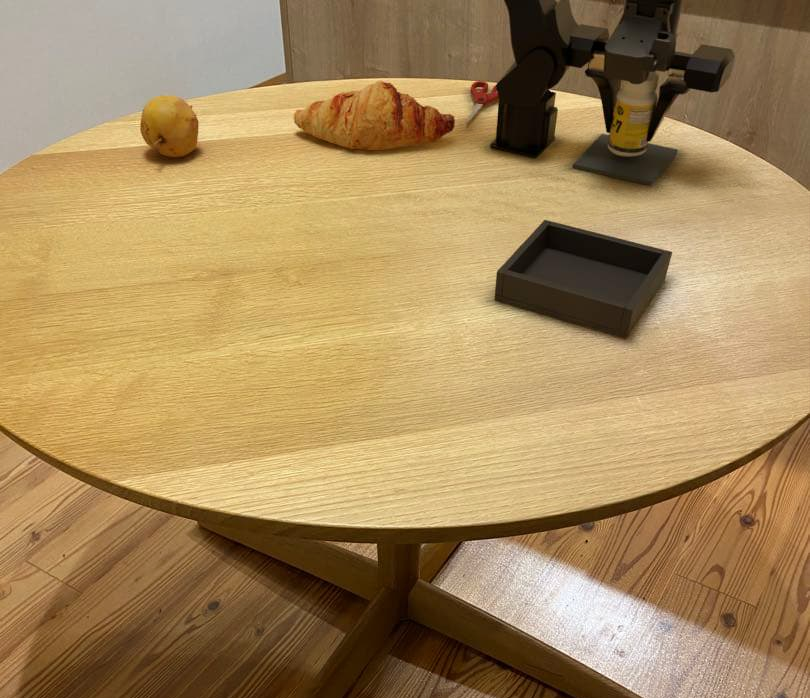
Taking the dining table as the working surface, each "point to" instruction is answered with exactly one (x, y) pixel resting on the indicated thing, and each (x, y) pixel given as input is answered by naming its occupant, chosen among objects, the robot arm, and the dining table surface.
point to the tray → (583, 277)
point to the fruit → (169, 126)
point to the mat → (625, 162)
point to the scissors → (482, 97)
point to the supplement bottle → (633, 117)
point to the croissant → (373, 119)
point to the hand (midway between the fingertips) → (629, 136)
